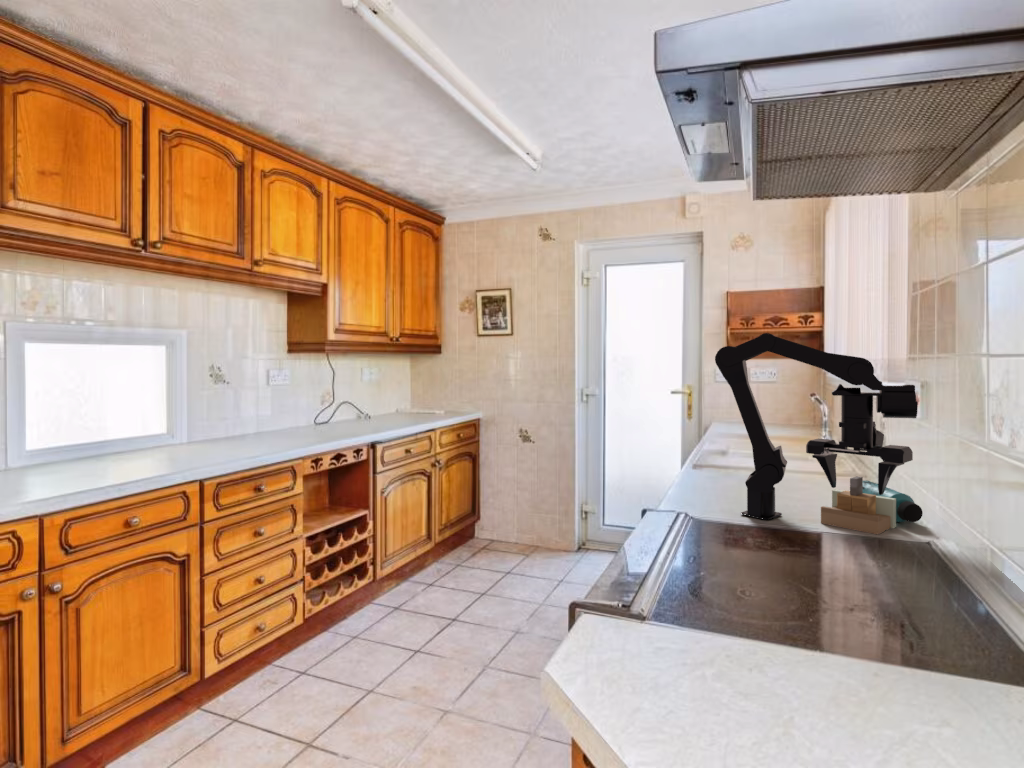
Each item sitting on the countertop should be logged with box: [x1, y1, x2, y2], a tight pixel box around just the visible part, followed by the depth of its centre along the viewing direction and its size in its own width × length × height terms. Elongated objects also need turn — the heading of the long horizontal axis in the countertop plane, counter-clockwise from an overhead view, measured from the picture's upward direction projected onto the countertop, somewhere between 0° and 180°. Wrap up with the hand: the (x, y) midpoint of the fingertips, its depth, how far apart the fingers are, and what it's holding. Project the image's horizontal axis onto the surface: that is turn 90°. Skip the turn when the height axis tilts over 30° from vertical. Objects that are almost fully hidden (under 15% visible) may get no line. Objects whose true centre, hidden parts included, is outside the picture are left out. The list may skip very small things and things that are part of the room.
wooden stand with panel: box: [820, 489, 897, 535], centre depth 123 cm, size 8×12×6 cm, turn 38°
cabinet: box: [837, 475, 876, 515], centre depth 123 cm, size 4×6×8 cm
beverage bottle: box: [863, 479, 923, 523], centre depth 130 cm, size 6×7×20 cm
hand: (856, 490), depth 123 cm, fingers open, 9 cm apart
